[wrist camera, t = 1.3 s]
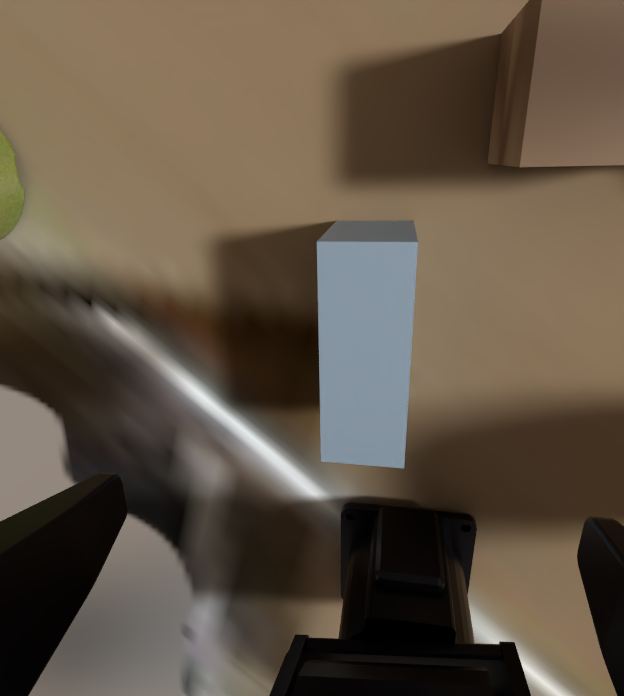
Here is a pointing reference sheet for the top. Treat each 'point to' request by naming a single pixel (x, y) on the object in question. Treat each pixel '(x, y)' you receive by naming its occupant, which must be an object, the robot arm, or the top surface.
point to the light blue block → (365, 339)
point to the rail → (560, 86)
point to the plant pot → (9, 189)
